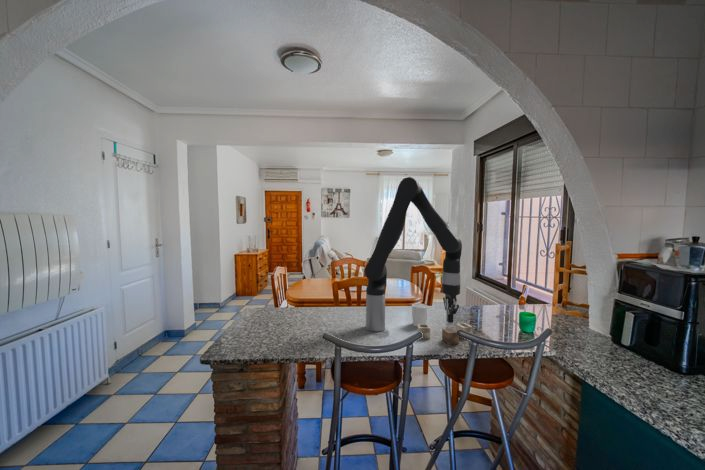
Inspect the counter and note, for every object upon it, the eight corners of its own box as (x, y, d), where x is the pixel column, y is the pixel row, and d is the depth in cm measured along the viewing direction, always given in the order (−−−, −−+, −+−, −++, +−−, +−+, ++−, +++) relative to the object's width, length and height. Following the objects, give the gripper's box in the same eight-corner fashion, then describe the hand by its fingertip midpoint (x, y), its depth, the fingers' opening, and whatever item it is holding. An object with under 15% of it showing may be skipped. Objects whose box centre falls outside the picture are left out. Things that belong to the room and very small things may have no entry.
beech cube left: (418, 338, 124) (418, 327, 124) (417, 334, 129) (417, 323, 129) (430, 339, 124) (430, 327, 124) (428, 334, 129) (428, 324, 129)
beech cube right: (463, 338, 125) (463, 327, 125) (456, 334, 130) (456, 323, 130) (472, 337, 126) (472, 326, 126) (465, 333, 131) (465, 322, 131)
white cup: (423, 328, 136) (424, 308, 136) (409, 325, 141) (409, 305, 141) (429, 324, 142) (430, 305, 142) (415, 321, 147) (415, 302, 147)
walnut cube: (448, 344, 118) (448, 333, 118) (442, 340, 123) (442, 328, 123) (458, 343, 119) (458, 332, 119) (452, 339, 124) (452, 328, 124)
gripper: (437, 279, 127) (436, 317, 127) (447, 285, 113) (446, 327, 114) (453, 279, 127) (452, 317, 127) (466, 285, 113) (465, 327, 114)
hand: (450, 322), depth 121 cm, fingers closed
